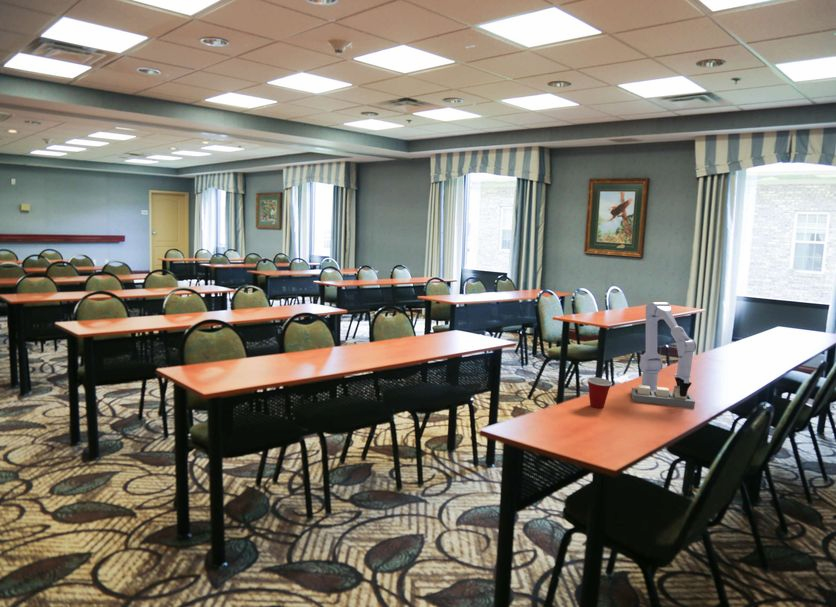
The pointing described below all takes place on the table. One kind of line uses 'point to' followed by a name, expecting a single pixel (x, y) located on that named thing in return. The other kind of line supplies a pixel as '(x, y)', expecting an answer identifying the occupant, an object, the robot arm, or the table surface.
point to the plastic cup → (598, 391)
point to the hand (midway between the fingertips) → (681, 394)
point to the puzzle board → (660, 397)
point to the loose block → (678, 393)
